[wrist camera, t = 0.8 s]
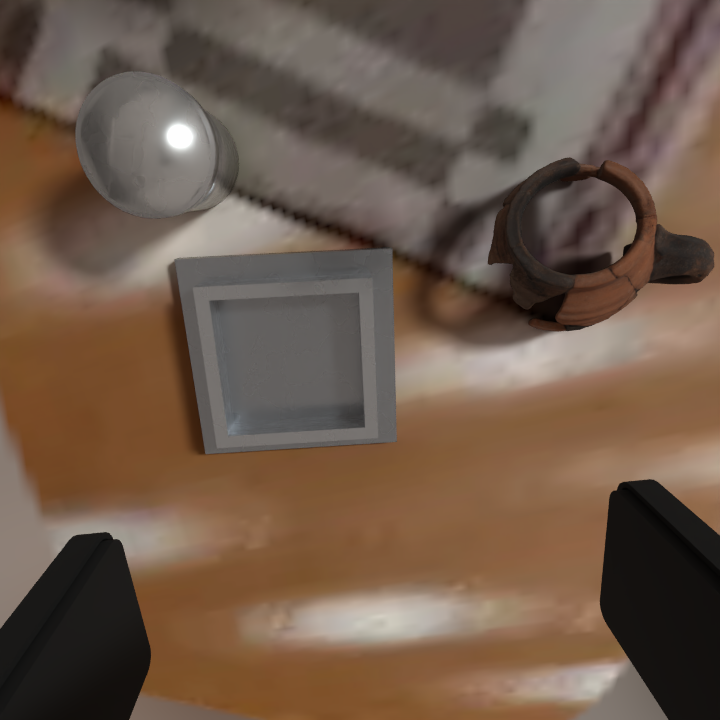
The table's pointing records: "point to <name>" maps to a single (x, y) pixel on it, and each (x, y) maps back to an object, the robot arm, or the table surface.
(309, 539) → the table surface
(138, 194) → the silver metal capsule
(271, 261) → the duct collar
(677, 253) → the pottery mug
